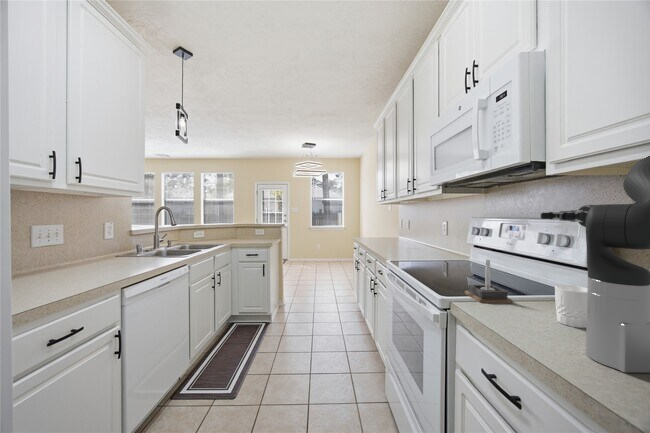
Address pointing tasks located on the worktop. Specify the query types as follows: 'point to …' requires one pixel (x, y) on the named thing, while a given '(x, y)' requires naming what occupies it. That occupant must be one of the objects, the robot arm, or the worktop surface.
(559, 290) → the white cup
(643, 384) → the worktop surface
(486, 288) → the screw
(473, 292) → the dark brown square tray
